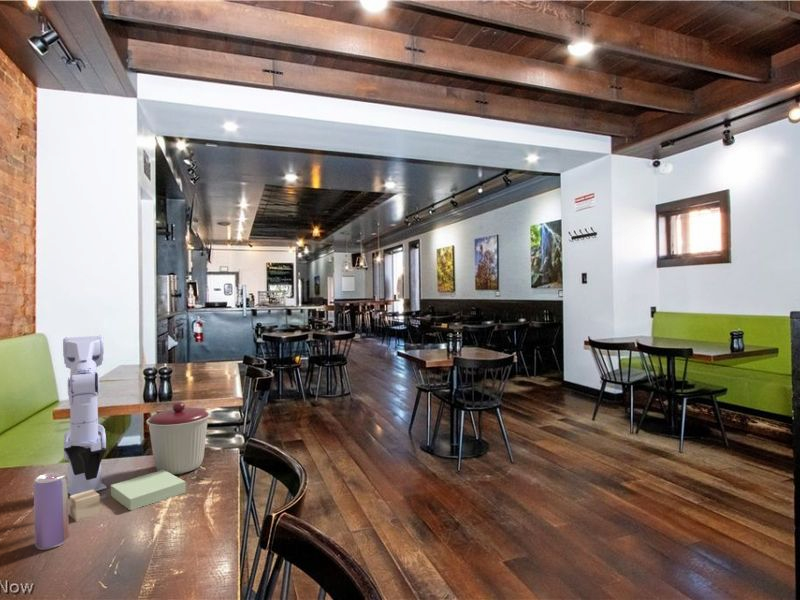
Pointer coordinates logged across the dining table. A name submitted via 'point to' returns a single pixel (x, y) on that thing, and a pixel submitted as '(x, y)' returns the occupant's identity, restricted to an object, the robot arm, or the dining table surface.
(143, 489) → the green plinth
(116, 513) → the dining table surface
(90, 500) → the maple block
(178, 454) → the canister
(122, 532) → the dining table surface
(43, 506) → the beverage can
